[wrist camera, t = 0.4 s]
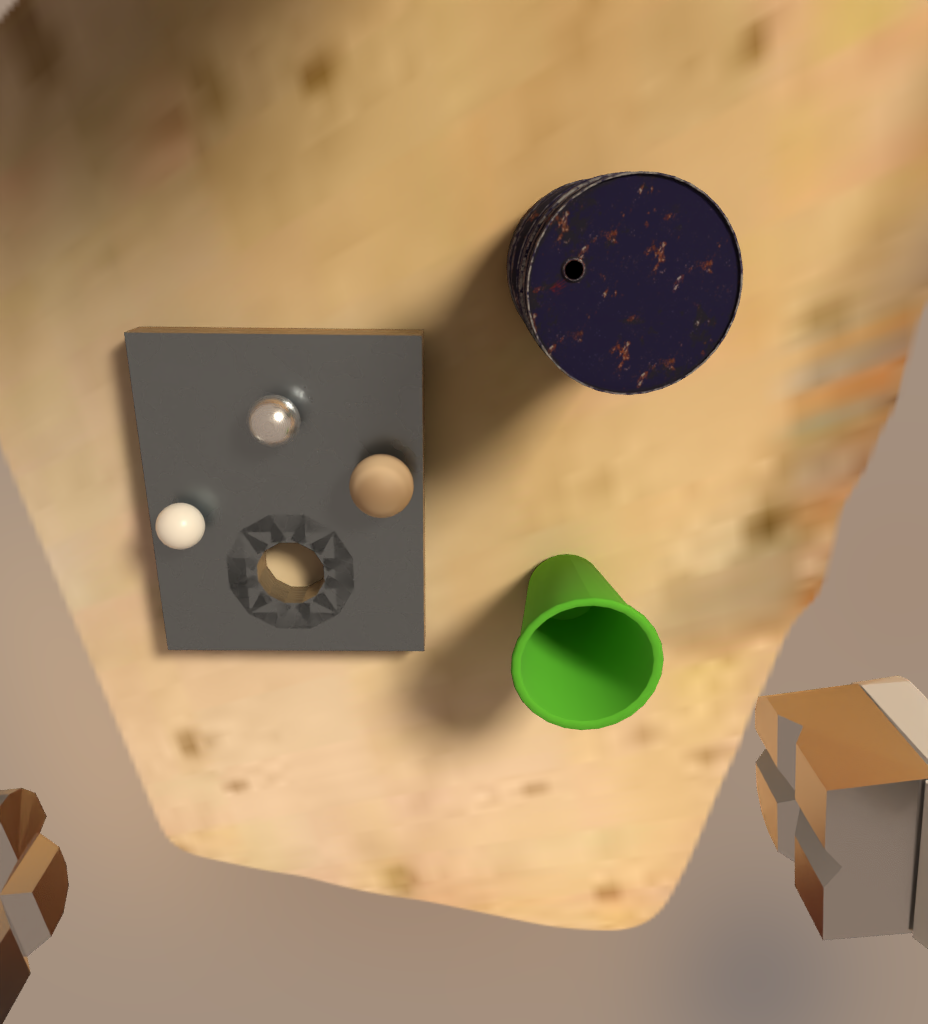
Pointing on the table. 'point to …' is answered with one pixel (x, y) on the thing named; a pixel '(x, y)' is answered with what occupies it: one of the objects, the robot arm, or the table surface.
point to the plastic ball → (180, 526)
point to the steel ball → (273, 420)
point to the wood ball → (381, 485)
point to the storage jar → (626, 279)
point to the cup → (583, 648)
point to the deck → (283, 484)
